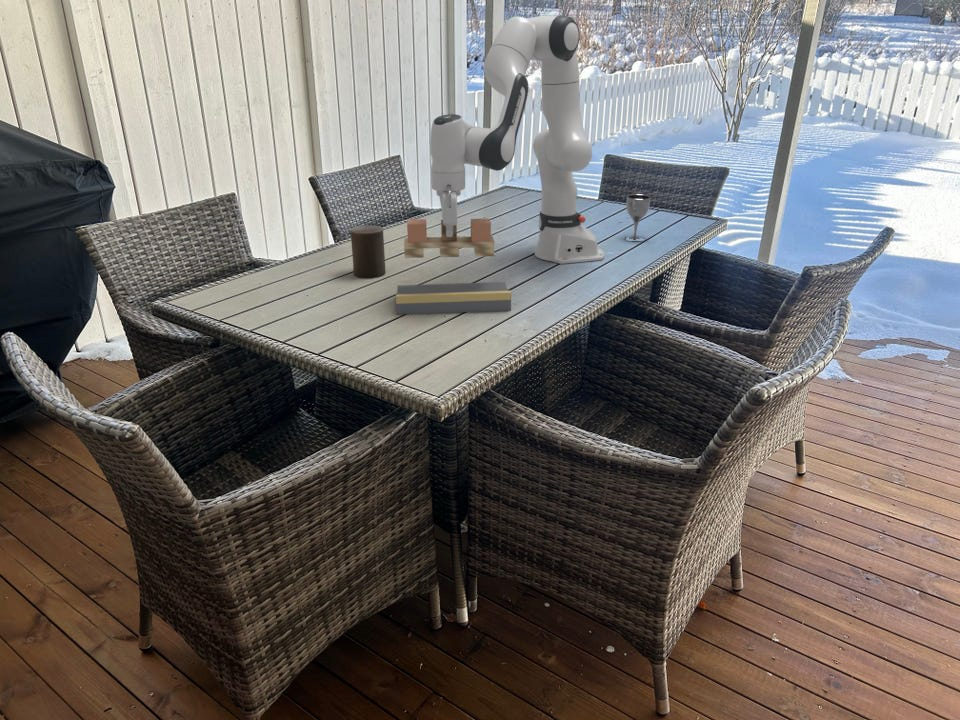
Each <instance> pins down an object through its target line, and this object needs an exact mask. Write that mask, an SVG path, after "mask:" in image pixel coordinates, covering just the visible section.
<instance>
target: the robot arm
mask: <svg viewBox="0 0 960 720" xmlns="http://www.w3.org/2000/svg"><path fill="white" fill-rule="evenodd" d="M579 28H580V27H579V25H578V23H577V22H576V20H575V19H574V18H573V17H571V16H567V15H563V14H559V15H548V14H547V15H538V16H535V17H534V16H532V17H529V18H526V17H523V16H513V17H510V18H509V19H508V20H506V22H504V24H503V26H502V27H501V29H500V30H499V31H498V33H497V35H496V37H495V39H494V41H493V42H492V44H491V47H490V49H489V51H488V52H487V55H486V57H485V61H484V64H483V72H484V76H485V80H486V81H487V83H488V84H489V86H490V87H492V88H493V90H495V91H496V92H498V94H500V95H502V96H503V97H504V101H503V105H502V109H501V113H500V115H499V119H498V122H497V124H496V125H495V126H493V127H491V128H490V127H489V128H488V127H480V126H474V125H472V124H469V123H467V122H466V121H465V120H463V117H462V116H461V115H459V114H457V113H455V114H454V113H449V114H443V115H440V116H437V117H436V118H435V119H433V121H432V123H431V124H432V125H431V129H430V140H429V141H430V155H431V160H432V163H431V167H430V177H431V178H430V180H431V185H430V186H431V189H432V190H434V191H436V195H437V196H438V197H439V202H440V206H441V207H440V208H441V218H442V219H441V220H443V225H445V226H446V236H447V237H452V236H453V226H455V225H457V226H458V197H459V196H461V195H462V193H461V191H463V190H465V189H466V166H465V164H466V165H471V166H476V167H482V168H485V169H489V170H493V171H496V172H498V171H501V170H503V169H505V168H506V167H507V166H509V164H510V163H511V162H512V161H513V159H514V156H515V154H516V153H515V152H516V144H517V143H516V142H517V138H518V137H517V136H518V132H519V129H520V126H521V123H522V118H523V115H524V111H525V107H526V104H527V99H528V95H529V82H528V79H527V77H526V73H527V70H528V67H529V65H530V62H531V60H532V61H541V75H540V78H541V79H540V80H541V82H540V83H541V108H542V114H543V116H544V118H545V120H546V122H547V123H546V124H547V126H548V129H544V130H541V131H540V132H539V133H538V134H536V136H535V137H534V139H533V143H532V150H533V153H534V155H535V157H536V160H537V164H538V165H537V166H538V171H539V176H540V178H539V179H540V184H541V202H540V203H541V204H540V205H541V206H540V207H541V210H540V211H539V217H538V228H539V229H538V230H539V234H538V240H537V245H536V249H535V252H534V256H535V257H536V258H538V259H541V260H544V261H547V262H552V263H553V262H554V263H557V264H561V265H562V264H563V265H564V264H572V263H574V264H575V263H584V262H594V261H602V260H604V258H605V253H604V251H603V250H602V249H601V248H600V247H598V240H597V238H596V236H595V235H594V233H593V232H591V230H589V229H588V228H587V227H585V226H584V225H583V223H585V222H586V220H587V219H586V217H585V216H584V215H582V214H581V213H579V212H578V211H577V200H578V187H577V186H578V185H577V183H576V182H575V180H574V176H573V173H574V172H580V171H582V170H585V168H587V167H588V165H589V164H590V162H591V160H592V157H593V149H592V146H591V143H590V142H589V140H588V138H587V135H586V132H585V129H584V124H583V120H582V114H581V107H580V106H581V105H580V103H581V102H580V70H579V61H578V55H577V49H578V47H579V43H580V37H581V34H580V33H581V32H580V29H579Z"/></svg>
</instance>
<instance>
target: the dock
mask: <svg viewBox="0 0 960 720" xmlns="http://www.w3.org/2000/svg"><path fill="white" fill-rule="evenodd" d="M395 303H396V304H395V306H396V315H420V314H445V313H446V314H447V313H449V314H451V313H452V314H453V313H472V312H473V313H474V312H475V313H476V312H477V313H478V312H503V311H505V312H506V310H507V311H512V291H511V290H508V287H507V285H506V282H505V281H498V282H497V281H493V282H488V281H487V282H465V283H464V282H462V283H459V282H458V283H438V284H437V283H434V284H433V283H432V284H431V283H430V284H401V285H397V288H396V294H395Z"/></svg>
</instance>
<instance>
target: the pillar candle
mask: <svg viewBox="0 0 960 720" xmlns="http://www.w3.org/2000/svg"><path fill="white" fill-rule="evenodd" d="M350 239H351V240H350V241H351V251H352V252H351V253H352V265H353V266H352V269H353V270H352V271H353V274H354V276H355V277H357V278H361V279H362V278H363V279H364V278H365V279H375V278H379V277H382V276H385V274H386V253H385V239H384V228H383V227H381V226H379V225H359V226H358V225H357V226H354V227H352V228H351V229H350Z"/></svg>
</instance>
